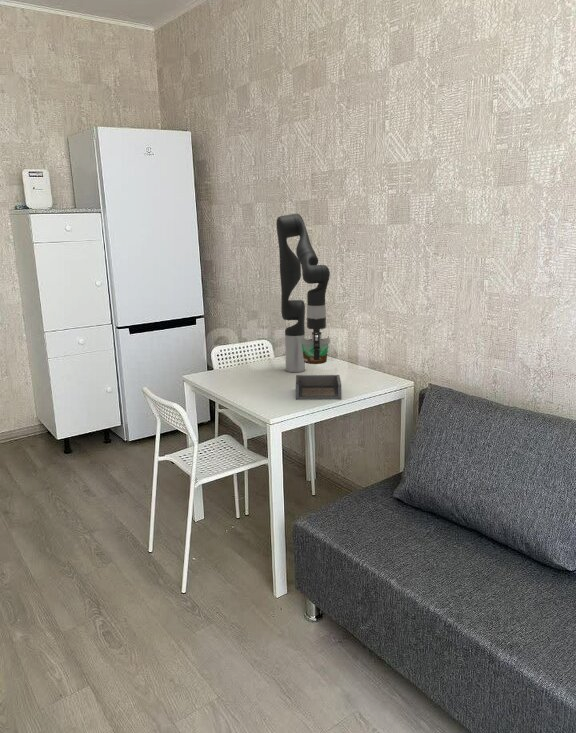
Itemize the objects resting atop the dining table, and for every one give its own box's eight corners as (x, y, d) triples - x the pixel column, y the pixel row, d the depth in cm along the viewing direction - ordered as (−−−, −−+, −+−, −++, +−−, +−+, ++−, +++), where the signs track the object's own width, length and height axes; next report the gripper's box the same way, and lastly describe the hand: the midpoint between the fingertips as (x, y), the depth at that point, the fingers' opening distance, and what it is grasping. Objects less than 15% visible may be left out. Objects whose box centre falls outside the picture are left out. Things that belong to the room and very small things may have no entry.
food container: (304, 365, 237) (303, 341, 234) (300, 362, 243) (299, 338, 240) (334, 363, 239) (334, 338, 237) (329, 360, 245) (329, 336, 243)
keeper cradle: (296, 389, 253) (296, 375, 252) (339, 388, 253) (339, 374, 251) (295, 399, 239) (295, 384, 237) (341, 399, 238) (341, 384, 237)
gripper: (307, 313, 244) (307, 354, 248) (306, 319, 230) (307, 362, 234) (325, 313, 244) (325, 353, 248) (326, 319, 230) (326, 362, 234)
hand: (316, 357), depth 241 cm, fingers closed on food container, 5 cm apart
